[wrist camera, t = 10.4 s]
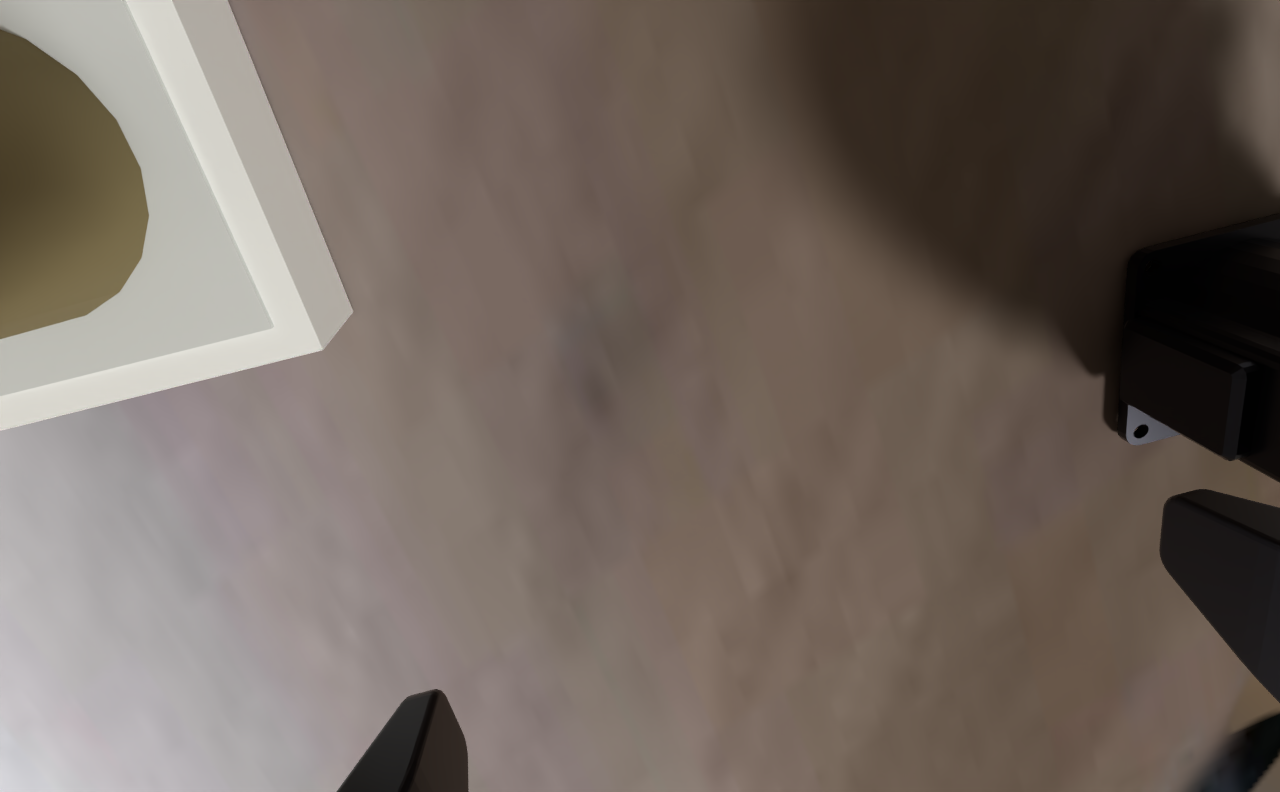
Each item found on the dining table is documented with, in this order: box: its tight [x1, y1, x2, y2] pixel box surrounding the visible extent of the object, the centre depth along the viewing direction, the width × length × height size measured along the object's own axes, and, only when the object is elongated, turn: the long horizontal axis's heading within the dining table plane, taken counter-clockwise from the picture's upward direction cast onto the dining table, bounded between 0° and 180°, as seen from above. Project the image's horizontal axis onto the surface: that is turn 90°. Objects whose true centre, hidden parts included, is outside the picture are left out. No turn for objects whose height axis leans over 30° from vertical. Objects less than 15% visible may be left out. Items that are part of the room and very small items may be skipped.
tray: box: [0, 0, 353, 431], centre depth 16 cm, size 10×10×3 cm
